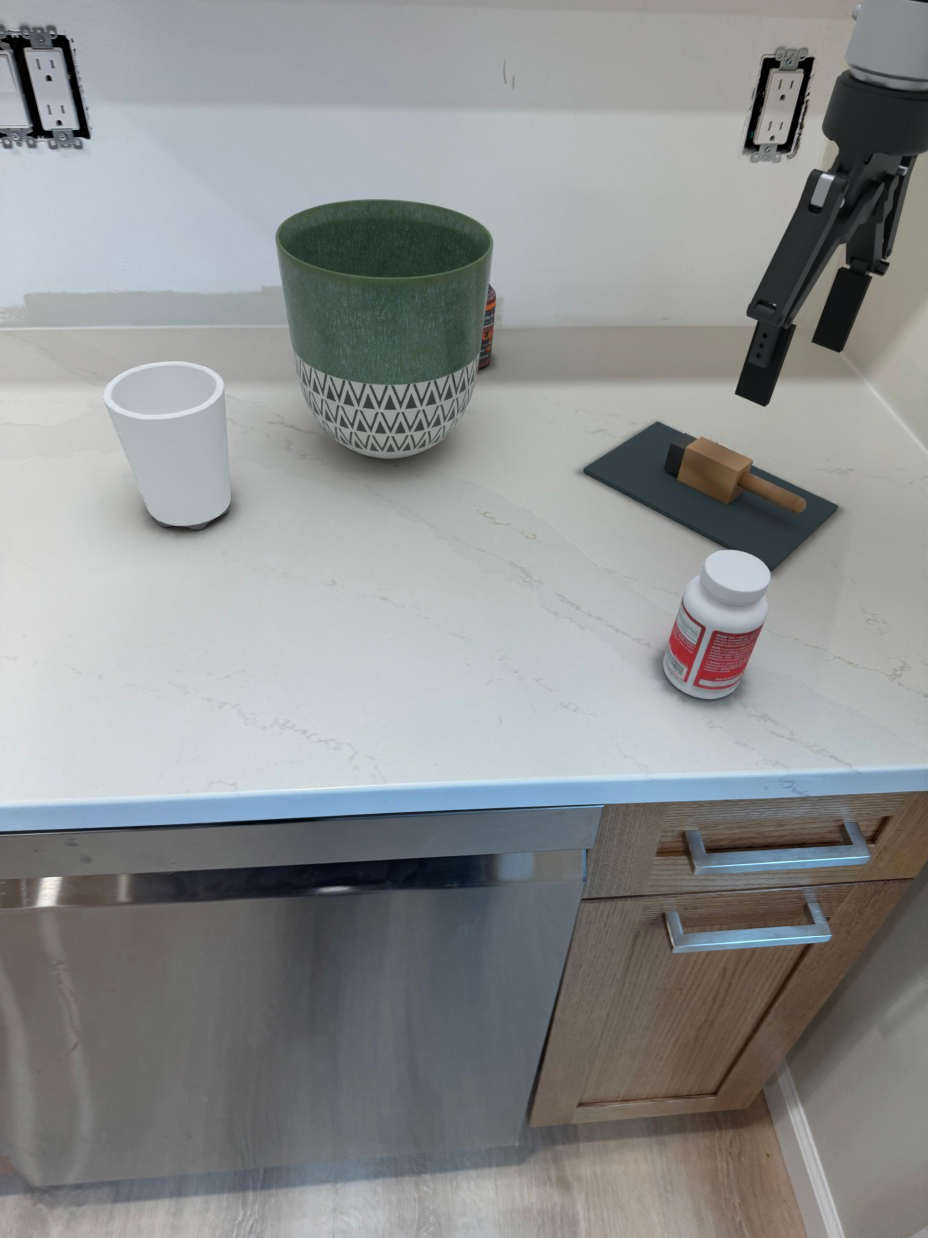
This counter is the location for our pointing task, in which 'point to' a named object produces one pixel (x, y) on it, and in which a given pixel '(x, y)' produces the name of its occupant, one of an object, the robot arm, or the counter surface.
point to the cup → (174, 439)
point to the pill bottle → (718, 625)
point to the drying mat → (709, 499)
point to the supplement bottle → (488, 328)
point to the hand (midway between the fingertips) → (791, 371)
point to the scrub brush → (722, 473)
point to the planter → (385, 318)
